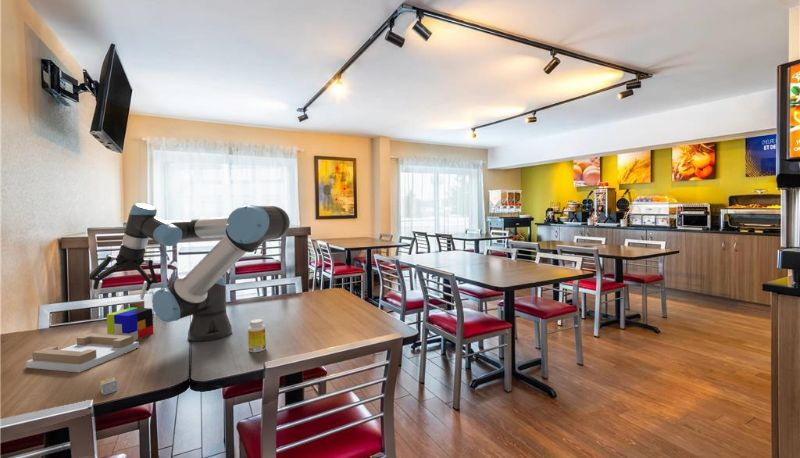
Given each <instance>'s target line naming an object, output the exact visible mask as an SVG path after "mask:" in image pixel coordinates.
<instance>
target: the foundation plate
mask: <svg viewBox="0 0 800 458" xmlns="http://www.w3.org/2000/svg"><path fill="white" fill-rule="evenodd" d="M136 348H137V349H138V348H139V349H140V342H139V341H134V336H128V335H113V334H108V333H97V332H91V333H88V334H85V335H81V336H77V337H76V344H72V345H70V346H67V347H64V348H60V349H59V347H58V346H52V345H50V346H47V347H44V348H42V349H39V350H36V351H32V353H31V354H32V358H31V359H28V360H26V362H25V363H26V368H27V369H38V370H48V371H49V370H50V371H59V372H61V371H62V372H73V373H81V372H82V373H83V372H84V371H86V370H88V369H91V368H93V367H95V366H98V365H100V364H103V363H105V362H107V361H110V360H113V359H115V358H117V357H119V356H123V355H124V353H125V354H127V353H129V352H131V351H134V350H136Z"/></svg>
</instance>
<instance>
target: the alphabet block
mask: <svg viewBox="0 0 800 458" xmlns="http://www.w3.org/2000/svg"><path fill="white" fill-rule="evenodd" d="M99 384H100V386H99V387H100V392H101V394H102V395H103V396H105V395H108V394H111V393H115V392H117V391H118V385H117V380H116V378H115V377H109V378H107V379H104V380H100V381H99Z"/></svg>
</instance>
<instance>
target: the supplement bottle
mask: <svg viewBox="0 0 800 458" xmlns="http://www.w3.org/2000/svg"><path fill="white" fill-rule="evenodd" d="M247 340H248V341H247V344H248V351H249V352H250V353H258V352H263V351H265V349H266V345H267V344H266V343H267V342H266V326H265V325H264V322H263V319H262V318H260V319H259V318H258V319H257V318H256V319H252V320H250V326H248V327H247Z"/></svg>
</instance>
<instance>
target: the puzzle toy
mask: <svg viewBox="0 0 800 458" xmlns="http://www.w3.org/2000/svg"><path fill="white" fill-rule="evenodd" d="M153 312H154V310H153V307H151V308H150V307H149V308H148V307H134V306H133V307H128V308H125V309H120V310H118V311H113V312H110V313H107V314H106V327H107V328H106V330H107V333H106V334H113V335H128V336H134V342H136V341H137V340H140V339H142V338H145V337H147V336H149V335H152V334H154V317H153Z"/></svg>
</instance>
